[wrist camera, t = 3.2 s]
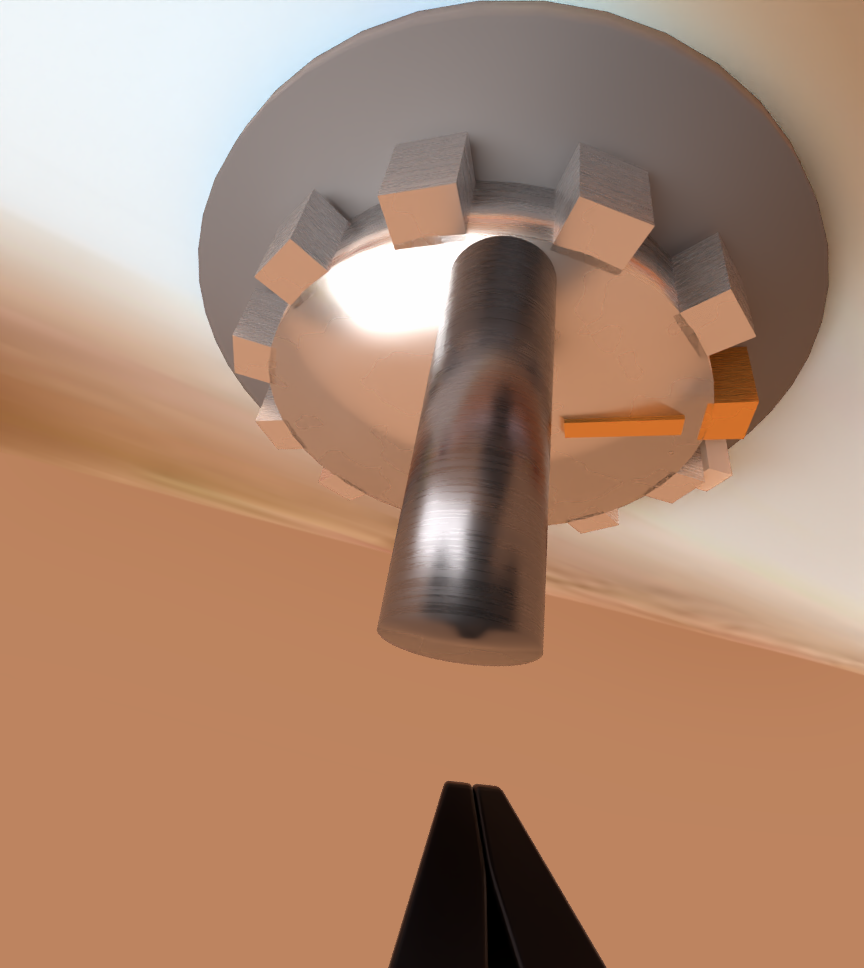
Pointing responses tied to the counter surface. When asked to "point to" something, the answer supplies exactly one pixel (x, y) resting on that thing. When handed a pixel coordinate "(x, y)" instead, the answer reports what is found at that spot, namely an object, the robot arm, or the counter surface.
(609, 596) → the counter surface
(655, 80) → the stand
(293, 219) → the sprocket
